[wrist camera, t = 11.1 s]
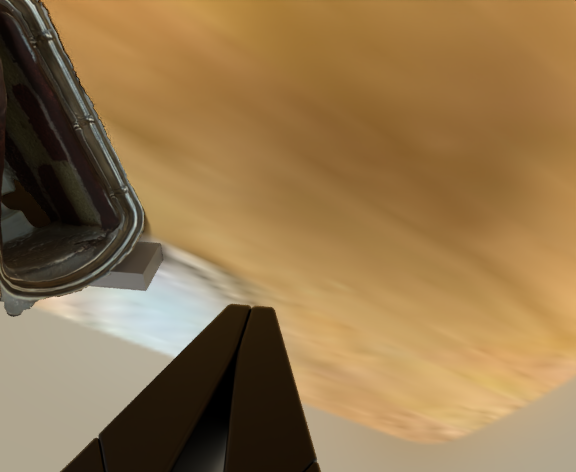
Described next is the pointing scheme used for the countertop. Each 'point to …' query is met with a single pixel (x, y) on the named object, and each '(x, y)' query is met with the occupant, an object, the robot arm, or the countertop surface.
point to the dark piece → (55, 169)
